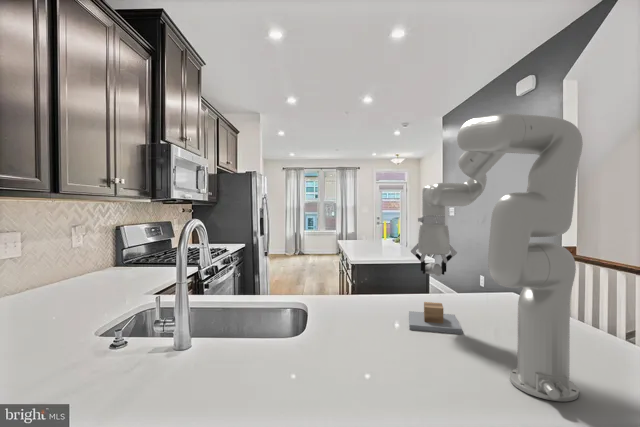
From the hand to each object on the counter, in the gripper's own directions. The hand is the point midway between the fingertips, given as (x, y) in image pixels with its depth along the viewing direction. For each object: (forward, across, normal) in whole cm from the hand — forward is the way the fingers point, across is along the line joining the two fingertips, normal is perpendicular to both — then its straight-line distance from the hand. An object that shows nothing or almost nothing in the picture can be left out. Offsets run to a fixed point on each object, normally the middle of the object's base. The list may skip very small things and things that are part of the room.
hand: (433, 273), depth 115 cm
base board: (+17, 0, 0) cm, 17 cm away
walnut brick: (+16, 0, 0) cm, 16 cm away
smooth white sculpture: (+1, 0, +1) cm, 1 cm away
